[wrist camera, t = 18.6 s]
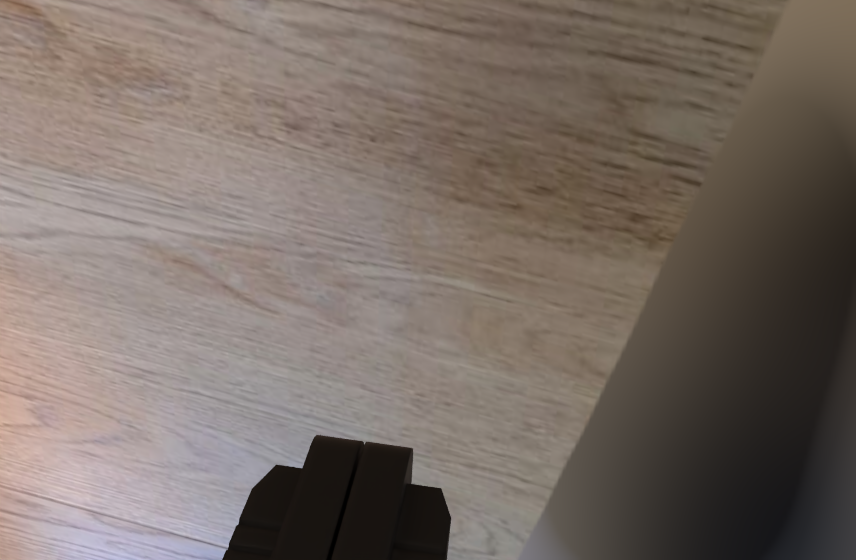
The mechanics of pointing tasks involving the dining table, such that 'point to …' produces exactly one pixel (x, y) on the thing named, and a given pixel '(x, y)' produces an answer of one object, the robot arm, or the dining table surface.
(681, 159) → the dining table surface
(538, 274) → the dining table surface
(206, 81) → the dining table surface
